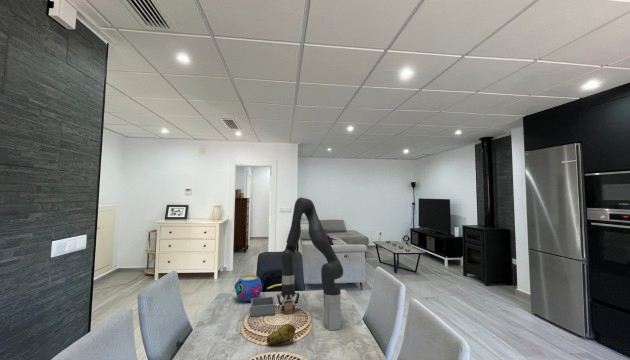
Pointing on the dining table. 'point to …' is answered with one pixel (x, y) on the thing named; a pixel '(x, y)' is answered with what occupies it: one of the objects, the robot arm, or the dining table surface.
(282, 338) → the green pear
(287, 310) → the walnut block
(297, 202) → the robot arm
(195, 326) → the dining table surface
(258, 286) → the ceramic pot
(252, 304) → the charcoal bin
